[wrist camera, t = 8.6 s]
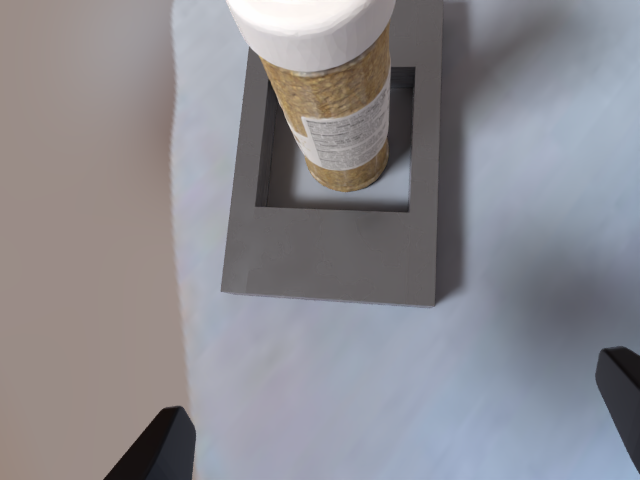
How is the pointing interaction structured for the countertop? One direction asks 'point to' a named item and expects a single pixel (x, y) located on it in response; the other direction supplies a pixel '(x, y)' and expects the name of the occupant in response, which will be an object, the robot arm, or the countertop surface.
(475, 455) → the countertop surface
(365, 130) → the sprinkles bottle
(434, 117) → the gray rectangular frame
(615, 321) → the countertop surface
